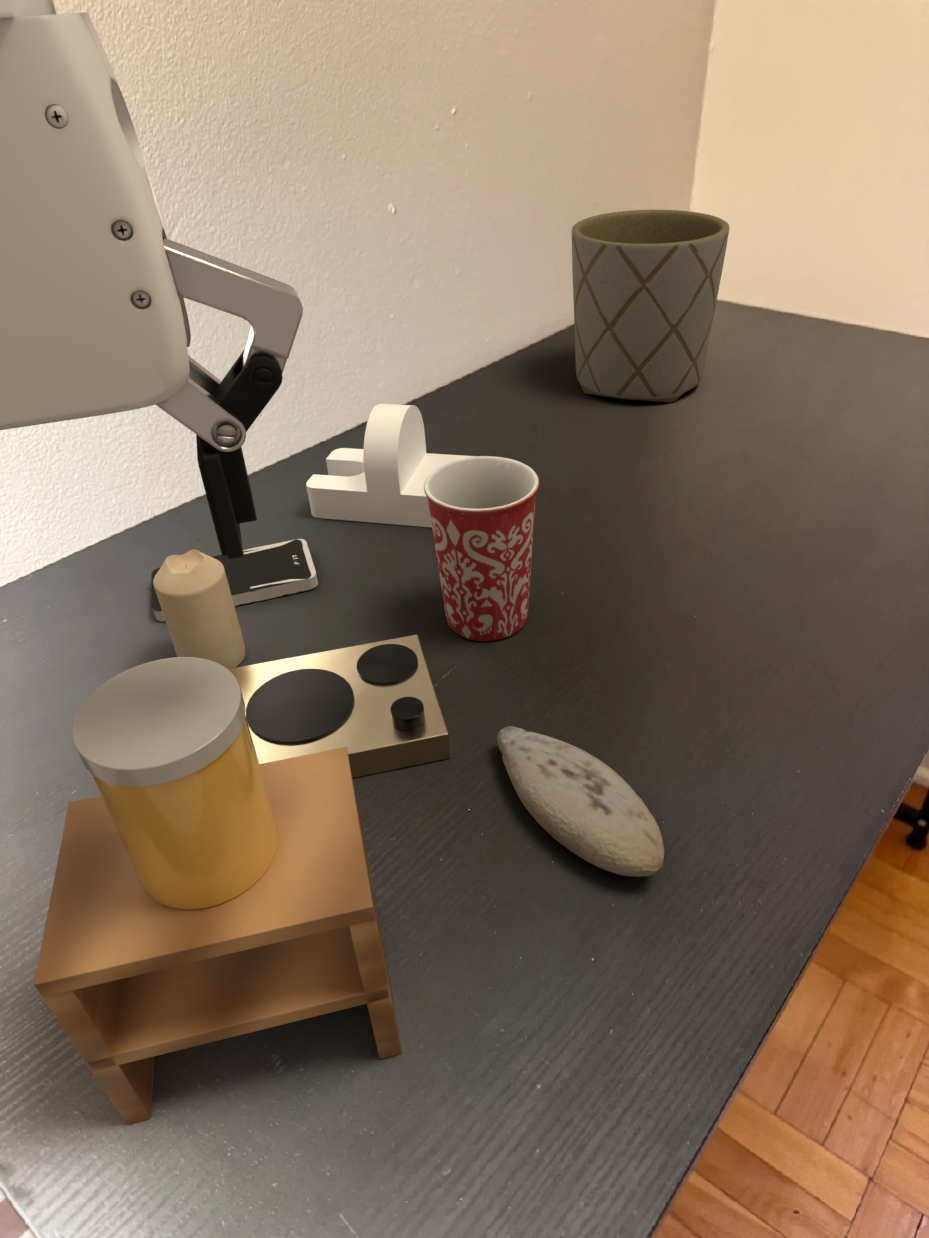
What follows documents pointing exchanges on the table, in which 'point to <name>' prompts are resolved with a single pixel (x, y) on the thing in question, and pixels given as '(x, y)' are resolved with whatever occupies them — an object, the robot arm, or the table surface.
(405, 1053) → the table surface
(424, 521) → the u-slot stand
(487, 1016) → the table surface
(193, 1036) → the shelf
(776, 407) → the table surface
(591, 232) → the planter
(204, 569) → the candle
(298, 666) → the hob
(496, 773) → the table surface
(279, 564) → the smartphone
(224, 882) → the jar
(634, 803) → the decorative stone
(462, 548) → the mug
